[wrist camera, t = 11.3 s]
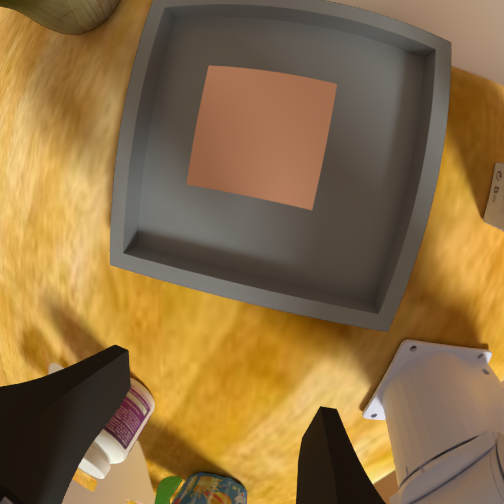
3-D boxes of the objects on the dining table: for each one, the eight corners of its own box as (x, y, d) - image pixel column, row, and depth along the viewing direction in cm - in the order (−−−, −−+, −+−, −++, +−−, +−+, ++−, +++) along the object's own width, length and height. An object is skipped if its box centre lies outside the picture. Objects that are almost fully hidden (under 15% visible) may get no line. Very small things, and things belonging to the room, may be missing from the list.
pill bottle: (103, 365, 23) (44, 431, 14) (152, 381, 22) (98, 461, 13) (115, 402, 25) (69, 466, 16) (160, 418, 24) (119, 491, 15)
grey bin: (434, 55, 12) (451, 42, 9) (378, 311, 17) (387, 332, 15) (170, 12, 14) (154, -3, 11) (130, 253, 19) (110, 264, 17)
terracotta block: (324, 113, 14) (337, 84, 8) (308, 192, 15) (311, 210, 9) (242, 99, 14) (208, 65, 8) (228, 176, 16) (186, 184, 10)
